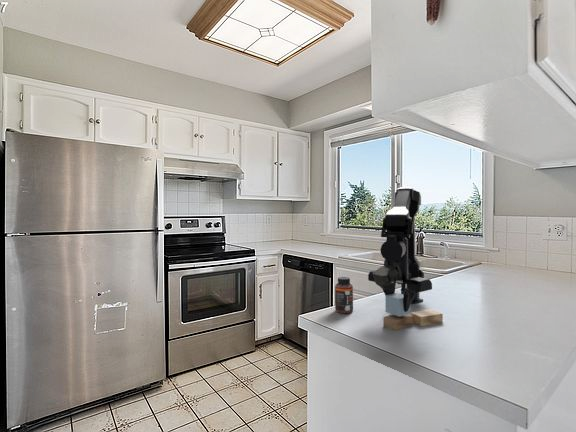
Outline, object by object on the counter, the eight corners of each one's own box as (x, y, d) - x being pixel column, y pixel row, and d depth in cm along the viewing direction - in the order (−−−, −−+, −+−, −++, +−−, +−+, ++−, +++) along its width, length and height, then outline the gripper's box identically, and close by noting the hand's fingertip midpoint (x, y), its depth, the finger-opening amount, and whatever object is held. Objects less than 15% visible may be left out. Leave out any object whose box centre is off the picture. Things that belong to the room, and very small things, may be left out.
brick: (431, 319, 103) (431, 309, 103) (442, 323, 99) (442, 313, 99) (410, 322, 100) (410, 312, 100) (420, 327, 96) (420, 316, 96)
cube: (396, 308, 101) (396, 292, 100) (410, 313, 96) (410, 296, 96) (385, 312, 98) (385, 295, 98) (399, 316, 94) (399, 299, 94)
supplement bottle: (353, 314, 108) (352, 280, 107) (334, 313, 109) (334, 279, 108) (353, 309, 113) (352, 276, 113) (335, 308, 115) (335, 275, 114)
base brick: (401, 321, 101) (401, 311, 101) (413, 325, 98) (413, 315, 98) (383, 326, 97) (383, 316, 97) (395, 331, 93) (395, 320, 93)
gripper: (354, 255, 100) (355, 306, 101) (406, 263, 85) (407, 323, 85) (380, 251, 106) (380, 300, 107) (433, 259, 91) (433, 315, 91)
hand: (398, 309), depth 97 cm, fingers closed on cube, 5 cm apart
